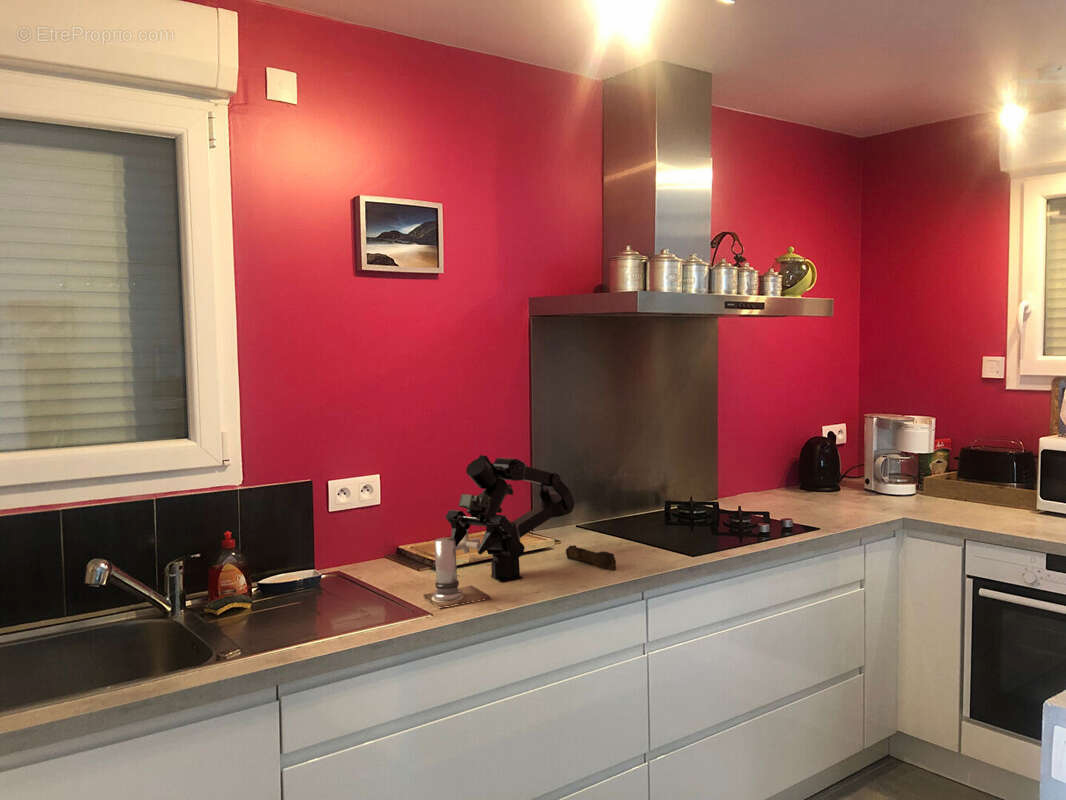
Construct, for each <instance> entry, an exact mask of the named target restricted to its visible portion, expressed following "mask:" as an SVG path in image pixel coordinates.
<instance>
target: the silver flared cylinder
mask: <svg viewBox="0 0 1066 800" xmlns="http://www.w3.org/2000/svg"><path fill="white" fill-rule="evenodd" d="M434 561H435V577H436V581H435V588H436V590H435V591H434V592H432V593H433V594H434V599H435V600H437V601H453V600H457V599H460V598H461V597H462V591H461V590H460V589H458V588H459V585H460V583H459V580H458V569H457V568H458V566H457V551H456V546H455V539H454V538H451V537H440V538H436V539H434Z"/></svg>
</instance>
